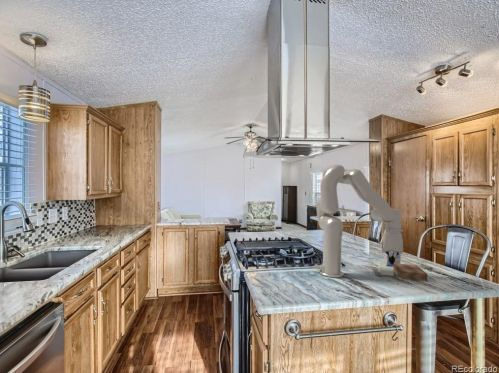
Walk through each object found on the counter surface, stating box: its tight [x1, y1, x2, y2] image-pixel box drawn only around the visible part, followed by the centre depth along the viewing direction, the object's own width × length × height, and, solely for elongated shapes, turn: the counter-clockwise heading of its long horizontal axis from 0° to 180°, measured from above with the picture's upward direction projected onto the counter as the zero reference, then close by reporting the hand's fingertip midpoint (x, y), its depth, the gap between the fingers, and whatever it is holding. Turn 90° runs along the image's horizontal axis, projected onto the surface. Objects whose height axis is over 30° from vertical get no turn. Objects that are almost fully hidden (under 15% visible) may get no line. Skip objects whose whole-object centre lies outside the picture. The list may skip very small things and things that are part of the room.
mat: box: [371, 267, 400, 279], centre depth 154 cm, size 11×14×1 cm
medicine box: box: [384, 251, 402, 268], centre depth 170 cm, size 8×4×9 cm, turn 76°
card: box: [377, 265, 395, 276], centre depth 154 cm, size 6×9×2 cm, turn 166°
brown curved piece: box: [392, 263, 429, 282], centre depth 151 cm, size 12×16×4 cm
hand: (391, 263), depth 153 cm, fingers closed
